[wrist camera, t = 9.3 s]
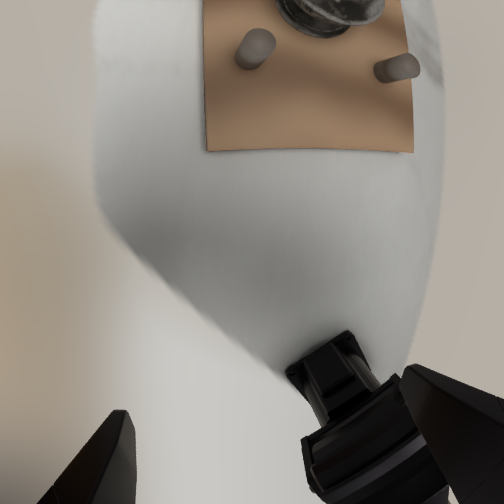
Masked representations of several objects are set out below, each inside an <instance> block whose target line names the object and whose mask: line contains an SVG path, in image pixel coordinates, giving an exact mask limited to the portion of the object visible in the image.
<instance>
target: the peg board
mask: <svg viewBox="0 0 504 504" xmlns="http://www.w3.org/2000/svg"><path fill="white" fill-rule="evenodd" d="M203 62H204V98H205V124H206V145H207V151H220V150H238V149H263V148H337V149H362V150H379V151H394V152H406V153H414V129H413V100H412V84H411V78H415V77H417V76H418V75H419V74H420V65H419V62H418V60H417V59H416V58H415V57H414V56H413V55H412V54H410V53H408V45H407V38H406V31H405V25H404V19H403V13H402V8H401V2H400V0H385V7H384V10H383V12H382V15H381V16H380V17H379V18H378V19H377V20H376V21H374V22H372V23H369V24H367V25H362V26H350V28H349V29H348V30H347V31H346V32H345V33H343V34H341V35H339V36H337V37H333V38H327V39H326V38H316V37H312V36H309V35H306V34H304V33H302V32H300V31H298V30H296V29H295V28H294V27H292V26H291V25H290V24H289V23H287V21H286V20H285V19H284V18H283V17H282V15H281V14H280V12H279V10H278V8H277V6H276V0H203Z"/></svg>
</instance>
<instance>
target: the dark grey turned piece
mask: <svg viewBox="0 0 504 504" xmlns="http://www.w3.org/2000/svg"><path fill="white" fill-rule="evenodd" d="M276 6H277V8H278V10H279V12H280V14H281V15H282V17H283V18H284V19H285V20H286V21H287V23H289V24H290V25H291V26H292V27H294V28H295V29H296V30H298V31H300V32H302V33H304V34H306V35H309V36H312V37H316V38H326V39H327V38H333V37H337V36H339V35H341V34H343V33H345V32H346V31H347V30H348V29H349V28H350V26H362V25H367V24H369V23H372V22H374V21H376V20H377V19H378V18H379V17H380V16H381V15H382V12H383V10H384V7H385V0H276Z"/></svg>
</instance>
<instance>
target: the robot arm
mask: <svg viewBox="0 0 504 504" xmlns="http://www.w3.org/2000/svg"><path fill="white" fill-rule="evenodd" d="M348 336H349V337H348ZM347 337H348V338H347ZM291 372H293V373H291ZM285 374H286V376H287V378H288V379H289V380H290V381H291V383H292V384H293V385H294V386H295V387H296V388H297V390H298V391H299V392H300V393H301V394H302V396H303V397H304V398H305V399H306V400H307V401H308V402H309V404H310V405H311V407H312V409H313V411H314V413H315V415H316V417H317V419H318V421H319V423H320V425H321V428H320V429H319V430H317V431H316V432H314V433H312V434H311V435H309V436H305V437H304V438H302V439H301V445H302V454H303V460H304V465H305V471H306V477H307V482H308V484H309V485H310V486H309V488H310V490H311V491H312V492H313V493H316V494H317V495H318V497H320V499H321V500H322V501H324V502H325V503H326V504H451V503H450V502H449V500H448V495H449V486H450V487H451V489H452V491H453V493H454V495H455V497H456V499H457V501H458V503H459V504H504V399H502V398H500V397H496V396H495V395H492V394H490V393H487V392H484V391H482V390H479V389H477V388H474V387H472V386H469V385H467V384H465V383H462V382H460V381H457V380H455V379H452V378H450V377H447V376H445V375H443V374H440V373H437V372H435V371H433V370H431V369H428V368H426V367H424V366H421V365H419V364H412V365H409V366H407V367H406V368H405V369H404V372H403V375H402V378H400V377H399V376H398V375H397V374H396V373H394V374H393V375H392V376H391V377H390V379H389V380H387V381H386V382H385V383H384V384H382V385H381V384H380V383H379V381H378V380H377V379H376V377H375V376H374V375H373V373H372V372H371V369H370V367H369V365H368V363H367V361H366V359H365V357H364V355H363V353H362V351H361V349H360V347H359V345H358V343H357V341H356V339H355V337H354V335H353V334H352V332H351V331H346V332H344V333H343V334H341V335H340V336H338V337H337V338H335V339H334V340H332V341H330V342H329V343H327V344H326V345H324V346H323V347H321V348H320V349H318V350H316V351H315V352H313V353H312V354H310V355H309V356H307V357H305V358H304V359H302V360H300V361H299V362H297V363H295V364H294V365H292V366H290V367H289V368H287V369H286V371H285ZM136 467H137V466H136V439H135V428H134V425H133V423H132V420H131V418H130V416H129V413H128V412H127V411H126V410H113V411H112V412H111V413H110V415H109V416H108V417H107V418H106V420H105V421H104V422H103V423H102V425H101V426H100V427H99V428H98V429H97V431H96V432H95V433H94V434H93V436H92V437H91V438H90V439H89V440H88V442H87V443H86V444H85V445H84V446H83V448H82V449H81V450H80V452H79V453H78V454H77V455H76V456H75V458H74V459H73V460H72V461H71V463H70V464H69V465H68V466H67V467H66V469H65V470H64V471H63V472H62V474H61V475H60V476H59V477H58V479H57V480H56V481H55V483H54V485H52V486H51V487H50V488H49V490H48V491H47V492H46V493H45V495H44V496H43V497H42V498H41V499H40V500H39V501H38V503H37V504H135V498H136V482H137V468H136Z"/></svg>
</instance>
